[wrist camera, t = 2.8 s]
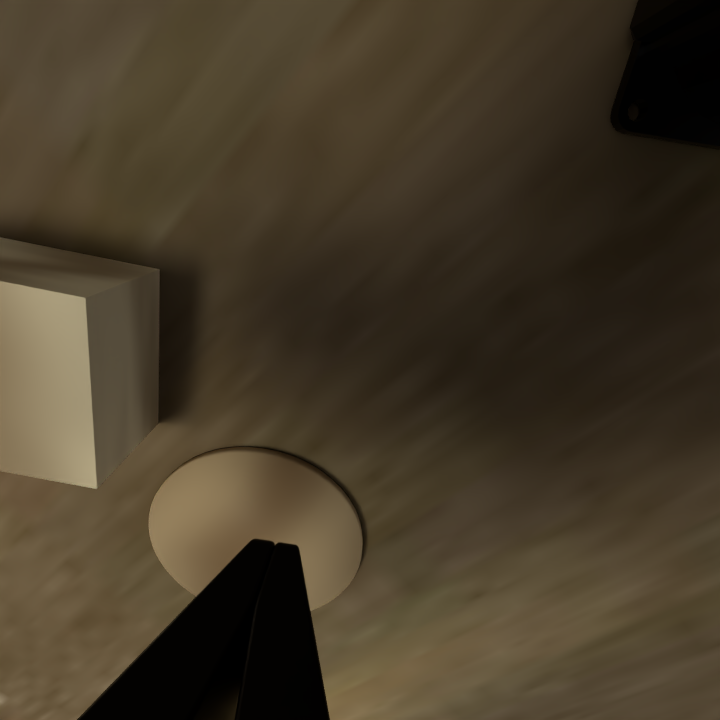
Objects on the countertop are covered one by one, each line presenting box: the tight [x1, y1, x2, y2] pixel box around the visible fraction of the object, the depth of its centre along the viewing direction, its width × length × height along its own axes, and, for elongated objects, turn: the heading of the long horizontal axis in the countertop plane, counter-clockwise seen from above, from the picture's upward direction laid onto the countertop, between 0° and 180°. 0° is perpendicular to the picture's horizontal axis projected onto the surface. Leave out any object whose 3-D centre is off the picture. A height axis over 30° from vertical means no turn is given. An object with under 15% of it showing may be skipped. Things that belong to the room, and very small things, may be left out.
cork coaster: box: [149, 447, 363, 611], centre depth 18 cm, size 9×9×1 cm
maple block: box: [0, 237, 160, 489], centre depth 13 cm, size 6×6×4 cm
